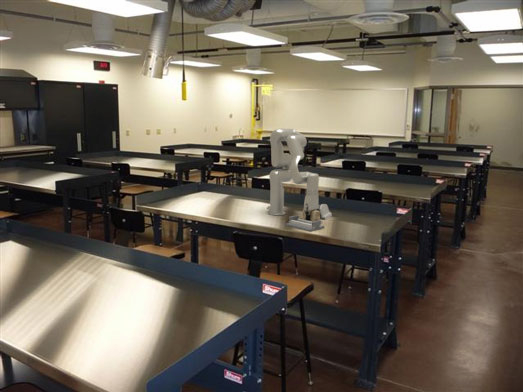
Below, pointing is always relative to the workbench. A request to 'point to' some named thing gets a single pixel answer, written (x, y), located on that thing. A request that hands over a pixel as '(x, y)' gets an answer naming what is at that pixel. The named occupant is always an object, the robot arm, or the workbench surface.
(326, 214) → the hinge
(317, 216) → the door panel
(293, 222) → the track board
